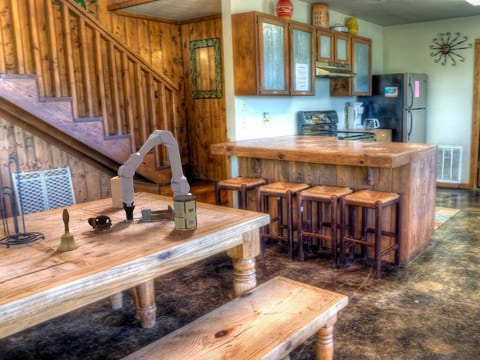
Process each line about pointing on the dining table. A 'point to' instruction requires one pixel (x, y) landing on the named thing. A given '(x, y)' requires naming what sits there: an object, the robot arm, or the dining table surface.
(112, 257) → the dining table surface
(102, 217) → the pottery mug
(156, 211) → the walnut lane
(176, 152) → the robot arm
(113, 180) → the soap dispenser
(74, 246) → the hand bell
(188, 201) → the coffee can
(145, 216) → the tethered block
